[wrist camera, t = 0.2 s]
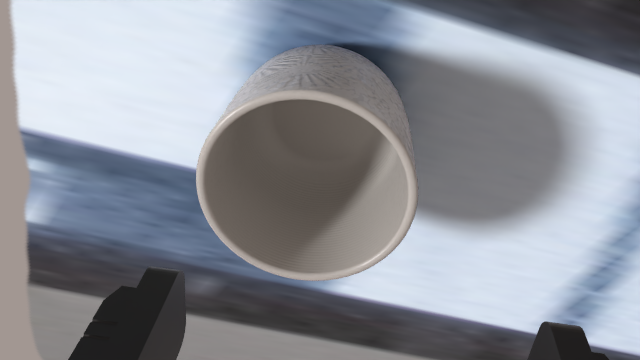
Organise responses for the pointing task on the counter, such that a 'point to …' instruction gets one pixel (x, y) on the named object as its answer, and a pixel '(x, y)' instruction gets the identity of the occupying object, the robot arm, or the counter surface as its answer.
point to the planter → (311, 166)
